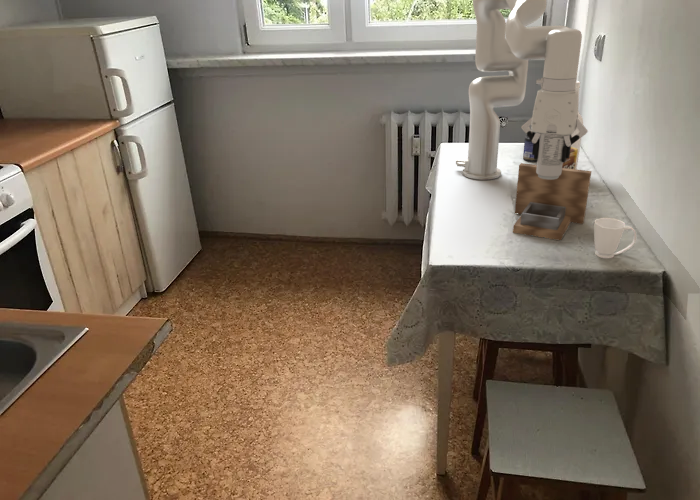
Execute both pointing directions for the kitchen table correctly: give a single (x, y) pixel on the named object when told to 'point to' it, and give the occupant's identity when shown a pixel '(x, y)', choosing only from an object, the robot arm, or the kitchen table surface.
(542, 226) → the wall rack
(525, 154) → the pill bottle
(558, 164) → the energy drink can
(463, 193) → the kitchen table surface
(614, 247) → the cup
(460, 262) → the kitchen table surface
